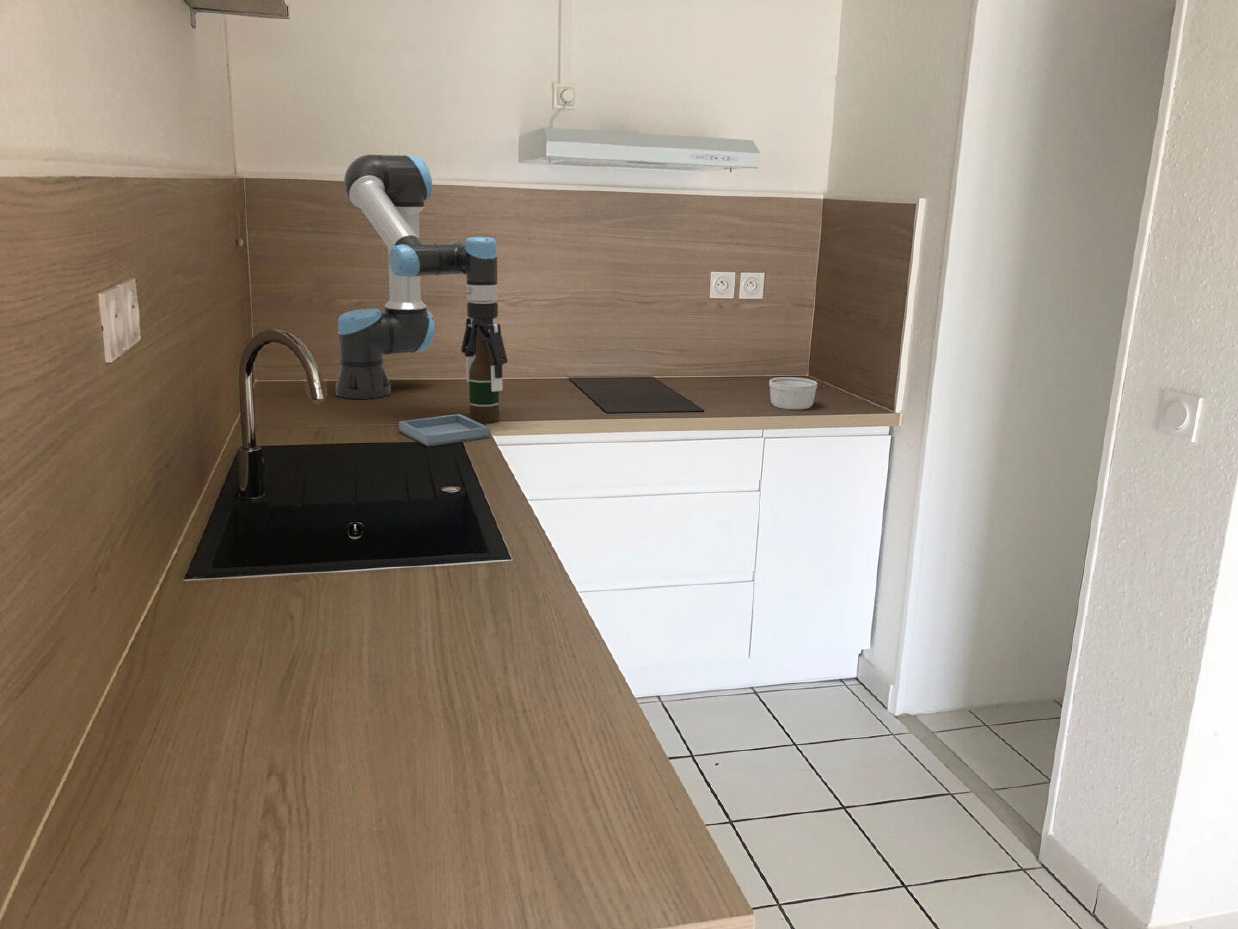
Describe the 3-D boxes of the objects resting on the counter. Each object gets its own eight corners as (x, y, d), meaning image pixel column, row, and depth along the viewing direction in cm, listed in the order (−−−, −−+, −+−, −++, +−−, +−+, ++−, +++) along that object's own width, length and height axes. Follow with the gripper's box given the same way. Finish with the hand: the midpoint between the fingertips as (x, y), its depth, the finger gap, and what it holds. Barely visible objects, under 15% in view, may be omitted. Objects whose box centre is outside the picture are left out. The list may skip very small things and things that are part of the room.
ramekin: (769, 399, 281) (770, 375, 279) (815, 402, 279) (817, 378, 277) (766, 409, 269) (768, 384, 267) (815, 412, 266) (817, 387, 264)
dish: (399, 431, 237) (399, 421, 236) (459, 423, 246) (459, 413, 245) (427, 446, 224) (426, 436, 224) (489, 437, 233) (489, 427, 232)
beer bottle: (494, 424, 245) (492, 329, 238) (464, 422, 247) (462, 327, 240) (503, 417, 252) (502, 325, 246) (475, 415, 254) (473, 323, 247)
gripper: (446, 297, 249) (449, 379, 255) (492, 307, 229) (494, 396, 235) (473, 295, 253) (475, 376, 259) (520, 306, 233) (521, 393, 239)
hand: (484, 386), depth 247 cm, fingers open, 13 cm apart
